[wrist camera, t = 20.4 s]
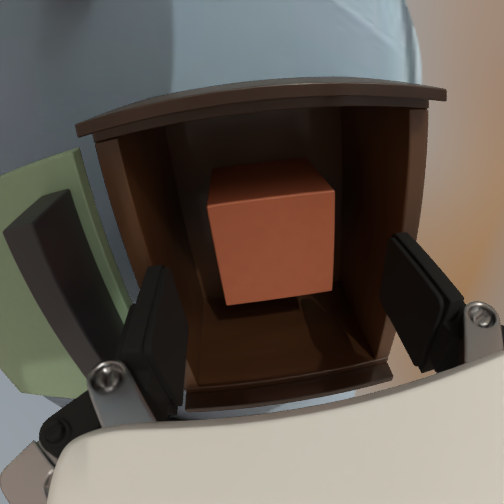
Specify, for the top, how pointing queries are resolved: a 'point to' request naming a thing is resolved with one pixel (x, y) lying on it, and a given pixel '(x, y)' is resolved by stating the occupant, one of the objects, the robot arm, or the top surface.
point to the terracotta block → (272, 230)
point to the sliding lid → (55, 279)
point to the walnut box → (200, 238)
